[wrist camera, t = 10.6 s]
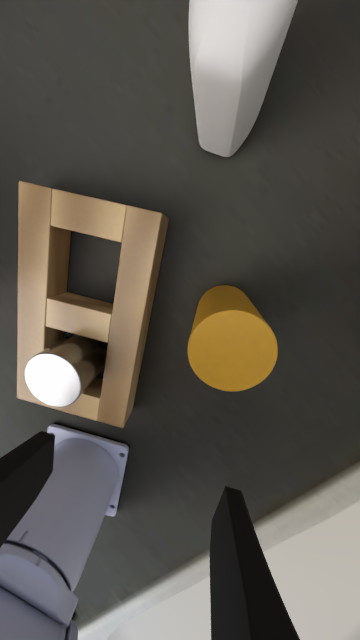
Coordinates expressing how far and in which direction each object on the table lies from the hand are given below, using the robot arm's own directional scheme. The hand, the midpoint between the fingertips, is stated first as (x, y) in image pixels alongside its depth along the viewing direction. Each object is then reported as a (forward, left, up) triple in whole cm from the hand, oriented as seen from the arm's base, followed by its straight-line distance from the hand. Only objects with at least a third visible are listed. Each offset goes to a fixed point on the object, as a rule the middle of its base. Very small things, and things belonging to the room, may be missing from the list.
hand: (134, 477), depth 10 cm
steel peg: (-1, +7, -10) cm, 13 cm away
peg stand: (+3, +7, -10) cm, 13 cm away
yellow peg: (+5, -3, -10) cm, 12 cm away
